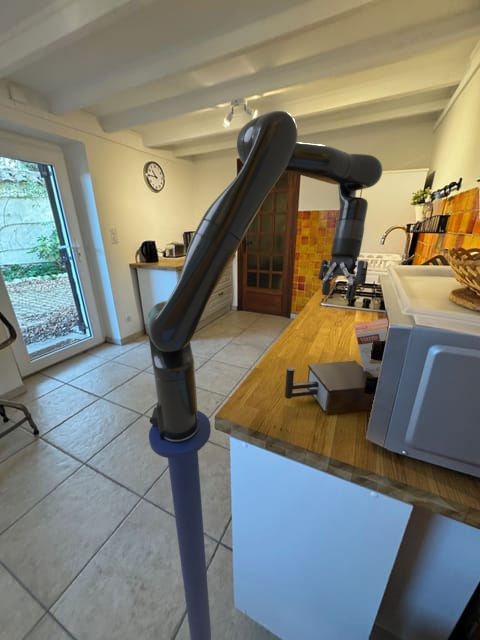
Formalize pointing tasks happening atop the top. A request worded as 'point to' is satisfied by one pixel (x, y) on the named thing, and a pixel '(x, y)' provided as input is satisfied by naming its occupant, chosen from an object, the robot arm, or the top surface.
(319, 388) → the drawer
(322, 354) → the top surface
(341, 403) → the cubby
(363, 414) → the top surface
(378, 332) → the cracker box
